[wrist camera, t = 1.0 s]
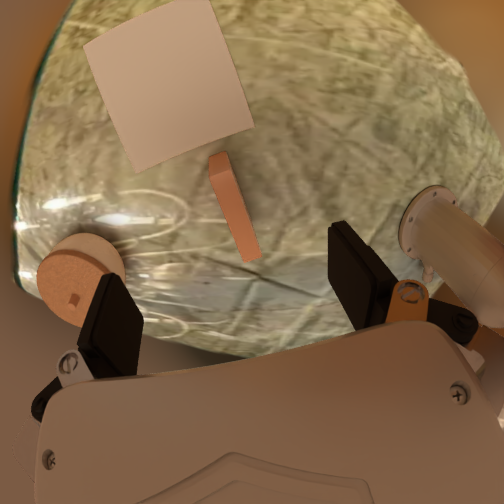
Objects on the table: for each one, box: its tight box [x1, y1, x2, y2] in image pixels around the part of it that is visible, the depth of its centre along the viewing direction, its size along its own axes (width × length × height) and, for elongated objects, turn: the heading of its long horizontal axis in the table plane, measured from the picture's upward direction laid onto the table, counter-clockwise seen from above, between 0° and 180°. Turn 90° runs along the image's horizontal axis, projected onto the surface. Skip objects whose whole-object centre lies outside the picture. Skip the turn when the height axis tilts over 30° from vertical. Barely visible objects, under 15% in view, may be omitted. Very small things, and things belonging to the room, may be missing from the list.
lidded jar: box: [37, 233, 126, 327], centre depth 27 cm, size 11×11×9 cm
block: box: [209, 151, 262, 263], centre depth 26 cm, size 9×2×7 cm, turn 17°
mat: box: [83, 0, 255, 174], centre depth 21 cm, size 16×13×1 cm
